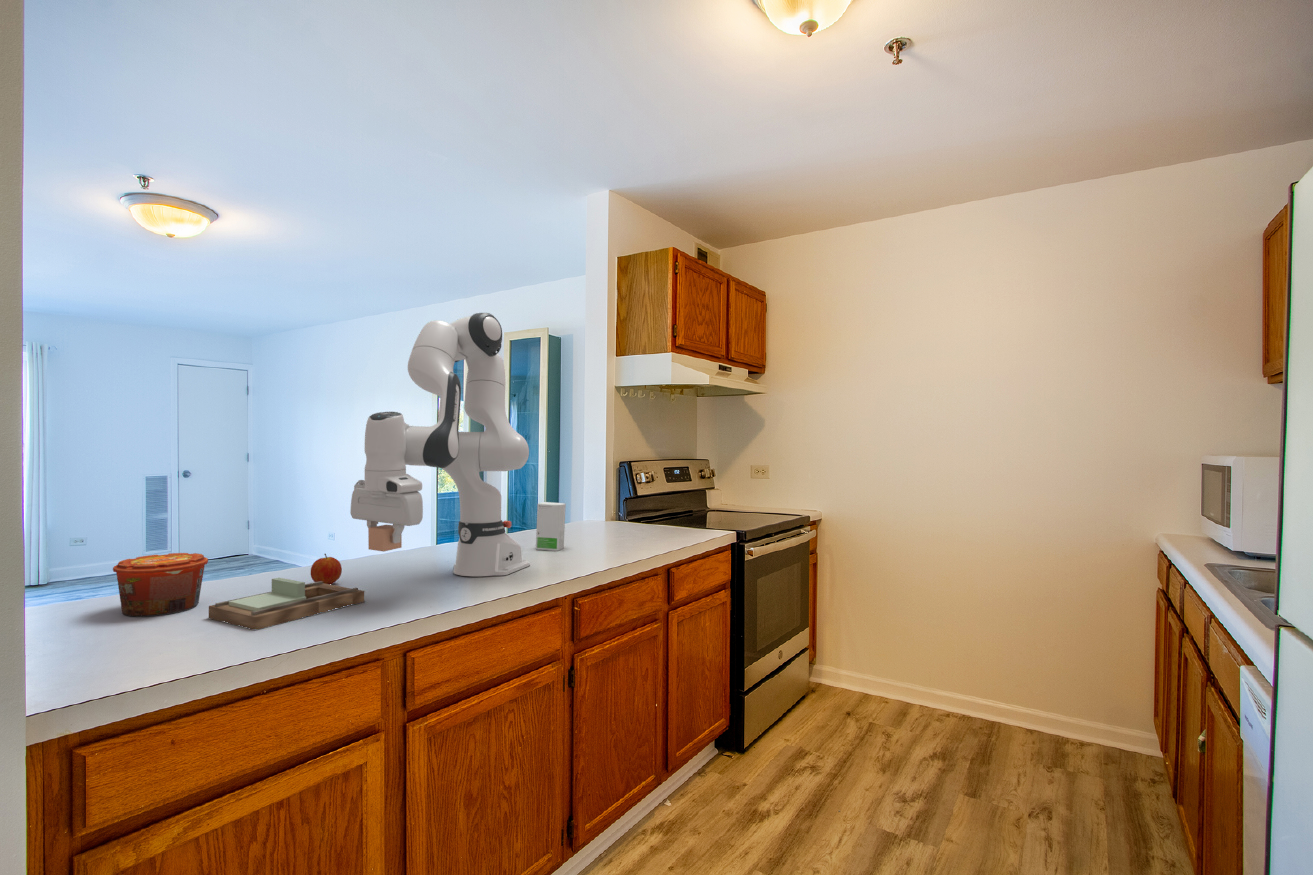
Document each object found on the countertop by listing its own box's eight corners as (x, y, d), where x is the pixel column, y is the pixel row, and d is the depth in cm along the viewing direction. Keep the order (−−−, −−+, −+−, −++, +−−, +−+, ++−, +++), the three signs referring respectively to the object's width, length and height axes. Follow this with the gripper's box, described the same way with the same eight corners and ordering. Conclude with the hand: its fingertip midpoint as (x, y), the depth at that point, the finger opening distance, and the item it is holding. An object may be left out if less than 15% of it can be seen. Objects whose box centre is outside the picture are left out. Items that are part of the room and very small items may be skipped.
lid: (277, 594, 137) (277, 577, 137) (306, 600, 132) (306, 582, 132) (228, 605, 128) (229, 586, 128) (257, 611, 123) (258, 592, 123)
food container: (178, 596, 144) (179, 549, 144) (224, 604, 138) (224, 555, 138) (94, 613, 129) (95, 562, 129) (141, 623, 123) (142, 569, 123)
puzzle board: (319, 592, 148) (319, 579, 148) (364, 601, 141) (364, 588, 141) (208, 618, 127) (208, 602, 127) (255, 630, 120) (255, 614, 120)
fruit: (339, 580, 161) (340, 549, 161) (343, 586, 155) (343, 554, 155) (309, 583, 157) (309, 552, 157) (311, 589, 152) (311, 556, 152)
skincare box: (535, 550, 208) (535, 503, 208) (542, 546, 215) (542, 501, 215) (559, 551, 207) (559, 504, 207) (565, 547, 214) (566, 502, 214)
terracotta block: (386, 545, 148) (386, 524, 148) (401, 547, 146) (401, 526, 146) (368, 549, 144) (368, 527, 143) (383, 551, 141) (383, 529, 141)
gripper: (343, 480, 146) (343, 538, 147) (405, 486, 137) (405, 548, 137) (366, 478, 152) (366, 534, 152) (427, 483, 143) (427, 543, 143)
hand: (385, 541), depth 145 cm, fingers closed on terracotta block, 5 cm apart
